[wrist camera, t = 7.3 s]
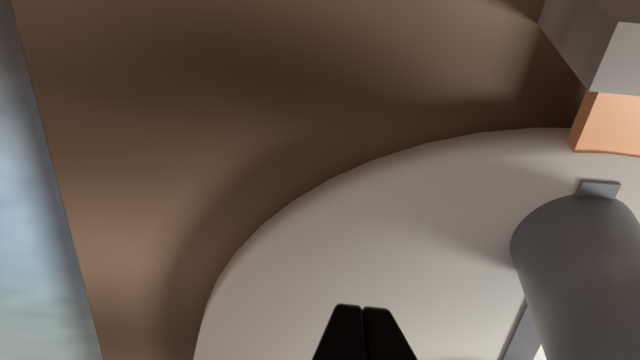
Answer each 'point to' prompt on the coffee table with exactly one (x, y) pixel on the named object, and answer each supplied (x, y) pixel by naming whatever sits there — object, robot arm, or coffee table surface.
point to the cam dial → (456, 249)
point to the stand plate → (274, 119)
